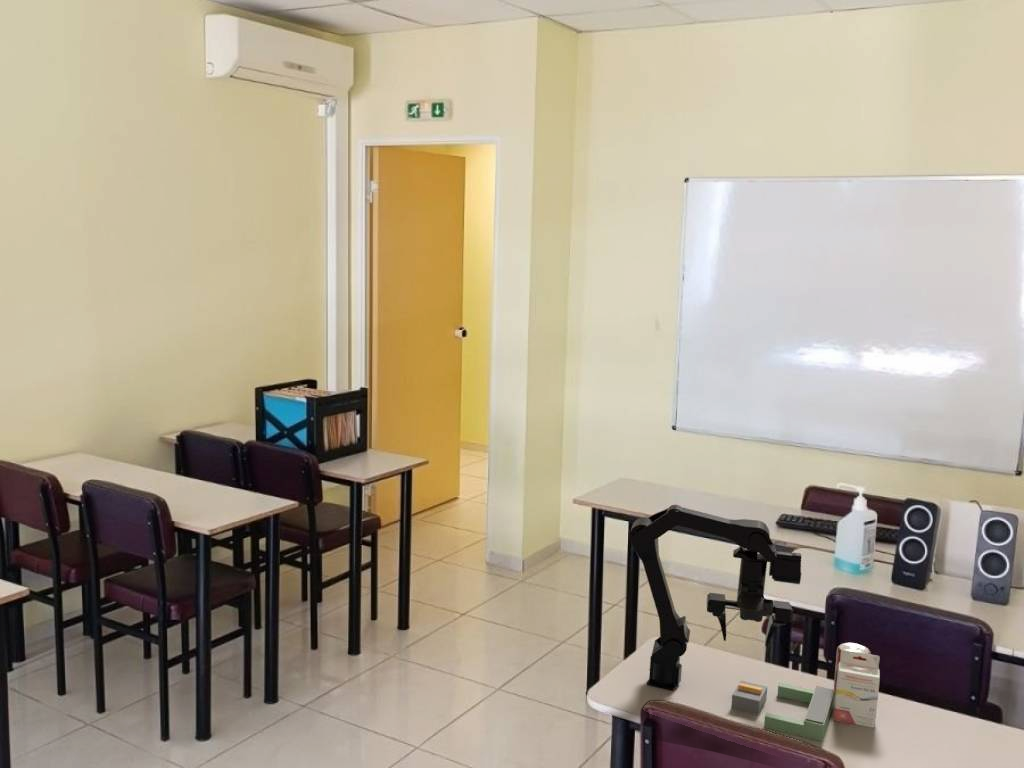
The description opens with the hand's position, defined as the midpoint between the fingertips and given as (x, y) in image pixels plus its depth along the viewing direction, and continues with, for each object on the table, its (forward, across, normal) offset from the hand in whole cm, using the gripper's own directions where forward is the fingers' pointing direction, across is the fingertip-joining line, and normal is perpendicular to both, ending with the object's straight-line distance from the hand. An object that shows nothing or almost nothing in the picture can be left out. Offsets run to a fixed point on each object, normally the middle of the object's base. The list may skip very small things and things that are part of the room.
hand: (745, 642), depth 220 cm
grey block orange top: (+12, +2, -5) cm, 14 cm away
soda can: (+12, +25, +3) cm, 27 cm away
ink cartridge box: (+12, +24, -7) cm, 28 cm away
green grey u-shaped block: (+12, +13, -8) cm, 20 cm away
